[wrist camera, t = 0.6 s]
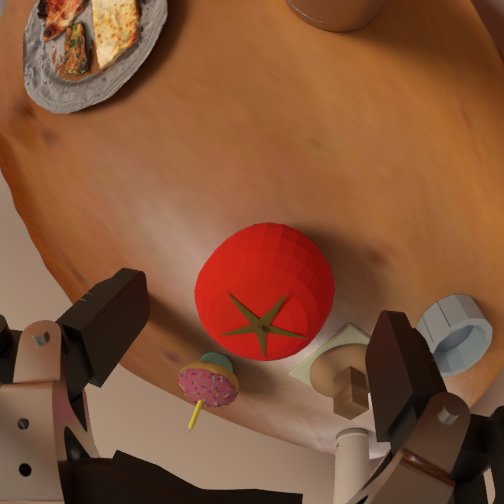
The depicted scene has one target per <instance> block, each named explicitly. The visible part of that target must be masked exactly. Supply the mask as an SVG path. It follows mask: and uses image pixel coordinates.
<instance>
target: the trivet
mask: <svg viewBox="0 0 504 504" xmlns="http://www.w3.org/2000/svg"><path fill="white" fill-rule="evenodd" d="M370 339H371V337H369V336H368V335H366V334H365V333H363V332H362V331H361V330H359V329H358V328H356V327H355V326H353V325H352V324H350V323H349V324H348V325H346V326H345V327H344V328H343V329H342V330H341V331H340V332H338V333H337V334H336V335H335V336H334V337H332V338H331V339H330V340H329V341H328V342H326V343H325V344H324V345H323V346H322V347H320V348H319V349H318V350H317V351H316V352H314V353H313V354H312V355H311V356H309V357H308V358H307V359H305V360H304V361H303V362H302V363H300V364H299V365H298V366H296V367H295V368H294V369H293V370H291V371H290V372H289V375H290V376H292V377H294V378H296V379H298V380H300V381H302V382H304V383H306V384H308V385H309V386H311V387H313V386H312V384H311V382H310V369H311V366H312V364H313V362H314V361H315V359H316V358H317V357H318V356H319V355H321V354H322V353H323V352H325V351H327V350H329V349H331V348H333V347H336V346H339V345H343V344H350V343H361V344H367V345H368V343H369V341H370Z"/></svg>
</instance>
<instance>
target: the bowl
mask: <svg viewBox="0 0 504 504" xmlns="http://www.w3.org/2000/svg"><path fill="white" fill-rule="evenodd" d="M416 329H417V330H418V331H419V332H420V333H421V334H422V336H423V337H424V338H425V339H426V341H427V343H428V346H429V348H430V352H432V355H433V357H434V361H435V362H436V364H437V366H438V369H439V371H440V374H441V376H442V378H445V377H452V376H455V375H457V374H459V373H462V372H464V371H466V370H468V369H469V368H470V367H472V366H473V365H474V364H475V363H476V362H478V361H479V360H480V359H481V357H483V355H484V354H485V352H486V350H487V349H488V347H489V346H490V344H491V341H492V332H493V329H492V326H491V325H490V323H489V322H488V320H487V318H486V317H485V315H484V314H483V312H482V311H481V309H480V308H479V306H478V305H477V303H476V302H475V301H474V300H473V299H472V297H471V296H469V295H461V294H455V295H454V294H453V295H451V296H448V297H446V298H443V299H441V300H438V301H437V302H435V303H434V304H433V305H432V306H431V307H430V308H429V309H428V310H427V311H426V312H425V313H424V314H423V315H422V316H421V318H420V320H419V322H418V324H417V327H416Z"/></svg>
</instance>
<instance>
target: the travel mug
mask: <svg viewBox="0 0 504 504" xmlns="http://www.w3.org/2000/svg"><path fill="white" fill-rule="evenodd" d="M369 477H370V463H369V441H368V432H367V431H366V430H364V429H361V428H351V429H347V430H344V431H342V432H340V433H339V434H338V435H337V436H336V464H335V486H334V502H333V504H346V503H347V502H348V501H349V500H350V499H351V498H352V497H353V496H354V495H355V494H356V493H357V492H358V490H359V489H360V488H361V487H362V486H363V484H364V483H365V482H366V481H367V479H368V478H369Z"/></svg>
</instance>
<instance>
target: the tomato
mask: <svg viewBox="0 0 504 504" xmlns="http://www.w3.org/2000/svg"><path fill="white" fill-rule="evenodd" d="M334 292H335V288H334V278H333V275H332V272H331V269H330V267H329V264H328V262H327V260H326V258H325V257H324V255H323V254H322V253H321V251H320V250H319V249H318V248H317V246H316V245H315V244H314V243H313V242H312V241H311V240H310V239H309V238H307V237H306V236H305V235H303V234H302V233H301V232H299V231H298V230H296V229H293V228H291V227H289V226H286V225H284V224H276V223H261V224H254V225H252V226H250V227H247V228H245V229H243V230H240V231H238V232H237V233H235V234H234V235H232V236H231V237H229V238H228V239H227V240H225V241H224V242H223V243H222V244H221V245H220V246H219V247H218V248H217V249H216V250H215V252H214V253H213V254H212V255H211V256H210V258H209V259H208V260H207V262H206V263H205V264H204V266H203V268H202V269H201V271H200V272H199V275H198V279H197V282H196V286H195V303H196V307H197V311H198V314H199V318H200V320H201V323H202V325H203V327H204V329H205V330H206V331H207V333H208V334H209V335H210V336H211V337H212V338H213V339H214V340H215V341H216V342H217V343H218V344H219V345H221V346H222V347H223V348H225V349H226V350H228V351H230V352H231V353H233V354H235V355H238V356H241V357H244V358H247V359H252V360H258V361H273V360H279V359H283V358H287V357H289V356H292V355H294V354H296V353H298V352H299V351H301V350H302V349H304V348H305V347H306V346H308V345H309V344H310V342H311V341H312V340H313V339H314V338H315V336H316V335H317V334H318V332H319V331H320V329H321V328H322V326H323V325H324V323H325V321H326V319H327V317H328V315H329V313H330V311H331V307H332V303H333V298H334Z"/></svg>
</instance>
